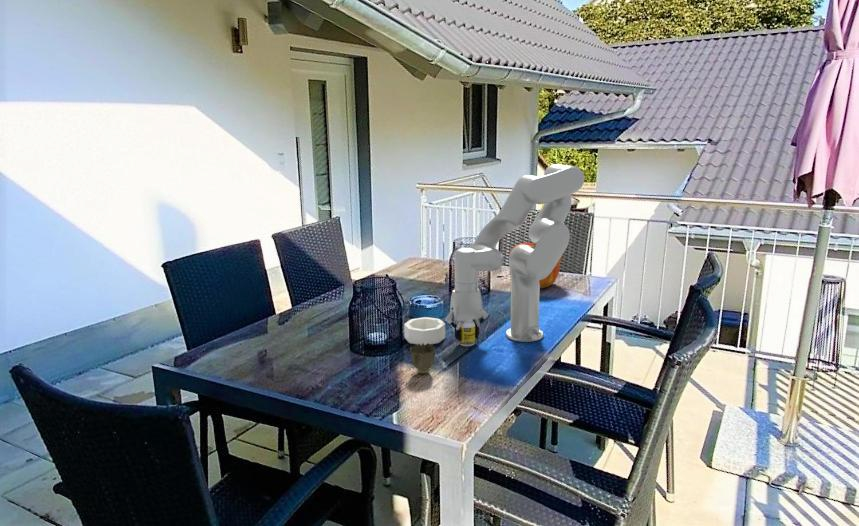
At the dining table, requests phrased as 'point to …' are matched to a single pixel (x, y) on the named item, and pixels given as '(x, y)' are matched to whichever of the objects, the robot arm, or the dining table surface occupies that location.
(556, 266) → the pumpkin
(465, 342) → the supplement bottle
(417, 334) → the white round bowl
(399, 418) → the dining table surface
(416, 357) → the cup
